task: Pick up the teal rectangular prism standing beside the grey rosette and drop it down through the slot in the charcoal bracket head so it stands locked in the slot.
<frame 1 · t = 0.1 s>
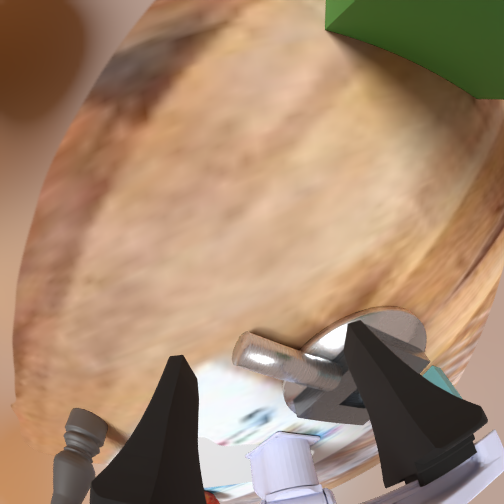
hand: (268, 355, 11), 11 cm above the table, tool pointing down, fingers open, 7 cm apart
rosette bracket: (358, 370, 27), on the table
teal rectangular prism: (427, 376, 31), on the table
hardback book: (414, 32, 14), on the table
candle holder: (89, 419, 29), on the table
pomegranate: (203, 491, 43), on the table
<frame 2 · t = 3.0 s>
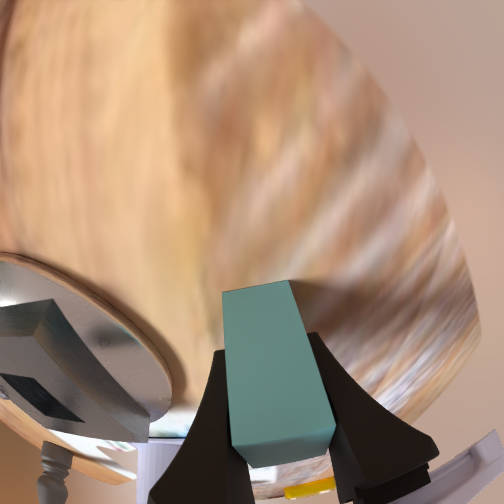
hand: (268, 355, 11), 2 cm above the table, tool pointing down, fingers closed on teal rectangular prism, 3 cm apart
rosette bracket: (53, 360, 14), on the table
teal rectangular prism: (260, 316, 13), on the table, touching gripper
candle holder: (58, 447, 29), on the table
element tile: (309, 483, 58), on the table
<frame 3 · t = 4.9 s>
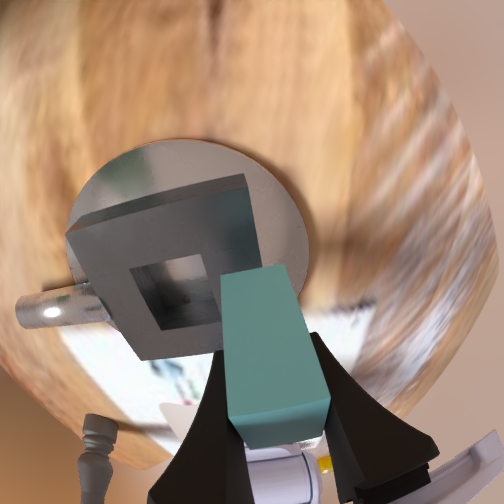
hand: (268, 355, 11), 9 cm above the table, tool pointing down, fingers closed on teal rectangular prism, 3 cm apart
rosette bracket: (182, 265, 19), on the table
teal rectangular prism: (258, 300, 14), point 6 cm above the table, touching gripper
candle holder: (101, 420, 34), on the table
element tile: (339, 454, 64), on the table
when the fingers open (4 cm above the table, at t = 6.7 s): teal rectangular prism stays where it is, resting on rosette bracket.
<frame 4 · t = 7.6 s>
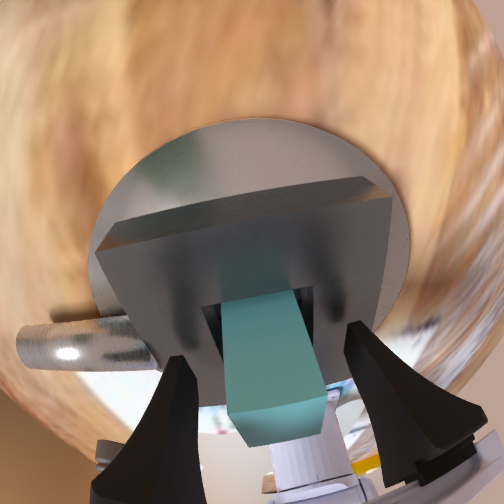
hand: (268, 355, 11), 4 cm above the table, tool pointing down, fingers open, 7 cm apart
rosette bracket: (256, 291, 15), on the table
teal rectangular prism: (257, 299, 14), point 1 cm above the table, touching rosette bracket
candle holder: (115, 445, 30), on the table
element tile: (354, 464, 59), on the table
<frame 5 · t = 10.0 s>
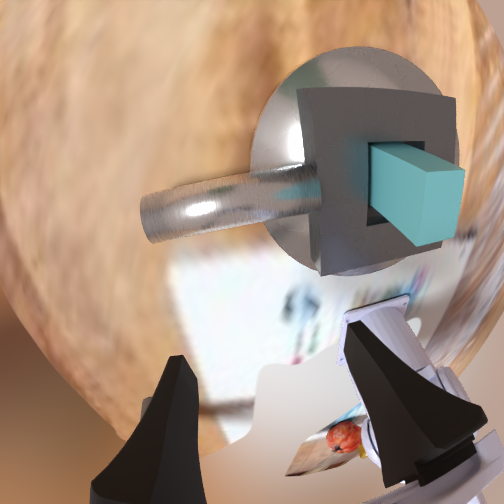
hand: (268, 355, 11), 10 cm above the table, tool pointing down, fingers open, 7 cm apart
rosette bracket: (371, 167, 18), on the table
teal rectangular prism: (378, 167, 17), point 1 cm above the table, touching rosette bracket
pomegranate: (341, 422, 45), on the table
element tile: (381, 435, 62), on the table
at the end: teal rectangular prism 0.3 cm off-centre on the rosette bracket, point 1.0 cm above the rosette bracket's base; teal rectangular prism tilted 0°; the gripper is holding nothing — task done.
